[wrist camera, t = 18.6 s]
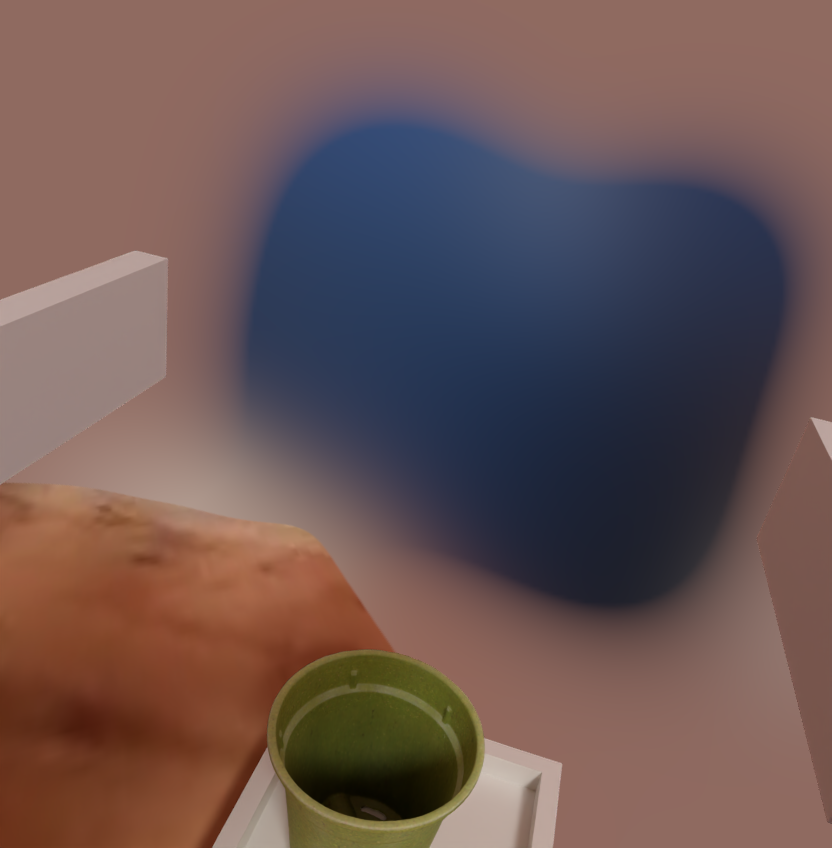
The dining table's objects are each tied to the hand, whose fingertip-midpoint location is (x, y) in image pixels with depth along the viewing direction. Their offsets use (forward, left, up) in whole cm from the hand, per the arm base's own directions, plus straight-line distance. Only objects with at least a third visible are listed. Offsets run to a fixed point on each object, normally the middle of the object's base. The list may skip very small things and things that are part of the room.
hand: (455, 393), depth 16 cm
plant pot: (-8, +5, -29) cm, 31 cm away
